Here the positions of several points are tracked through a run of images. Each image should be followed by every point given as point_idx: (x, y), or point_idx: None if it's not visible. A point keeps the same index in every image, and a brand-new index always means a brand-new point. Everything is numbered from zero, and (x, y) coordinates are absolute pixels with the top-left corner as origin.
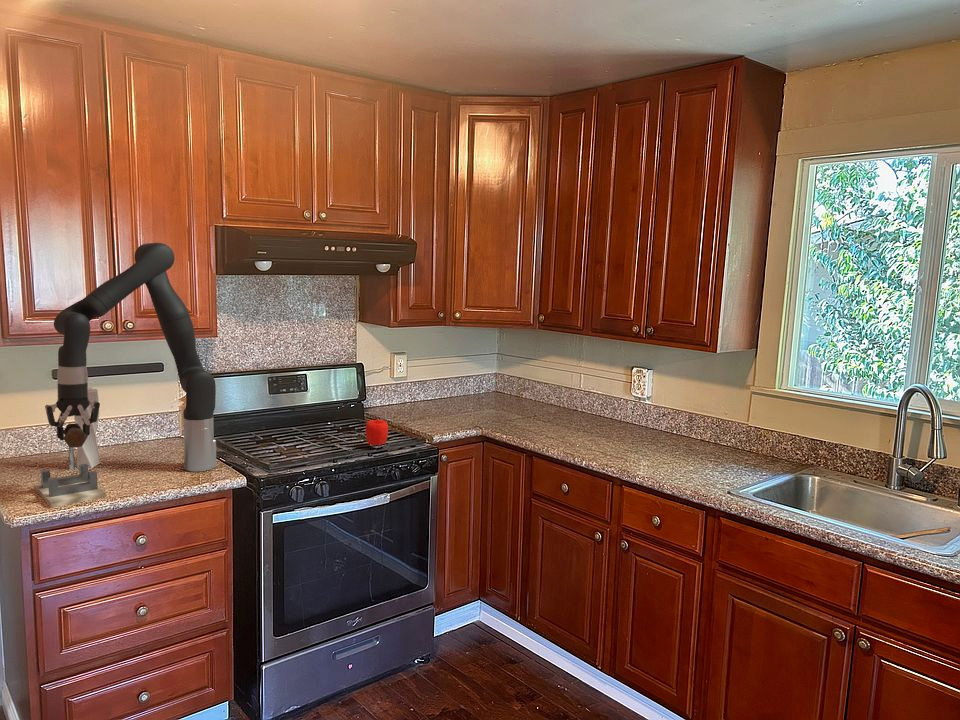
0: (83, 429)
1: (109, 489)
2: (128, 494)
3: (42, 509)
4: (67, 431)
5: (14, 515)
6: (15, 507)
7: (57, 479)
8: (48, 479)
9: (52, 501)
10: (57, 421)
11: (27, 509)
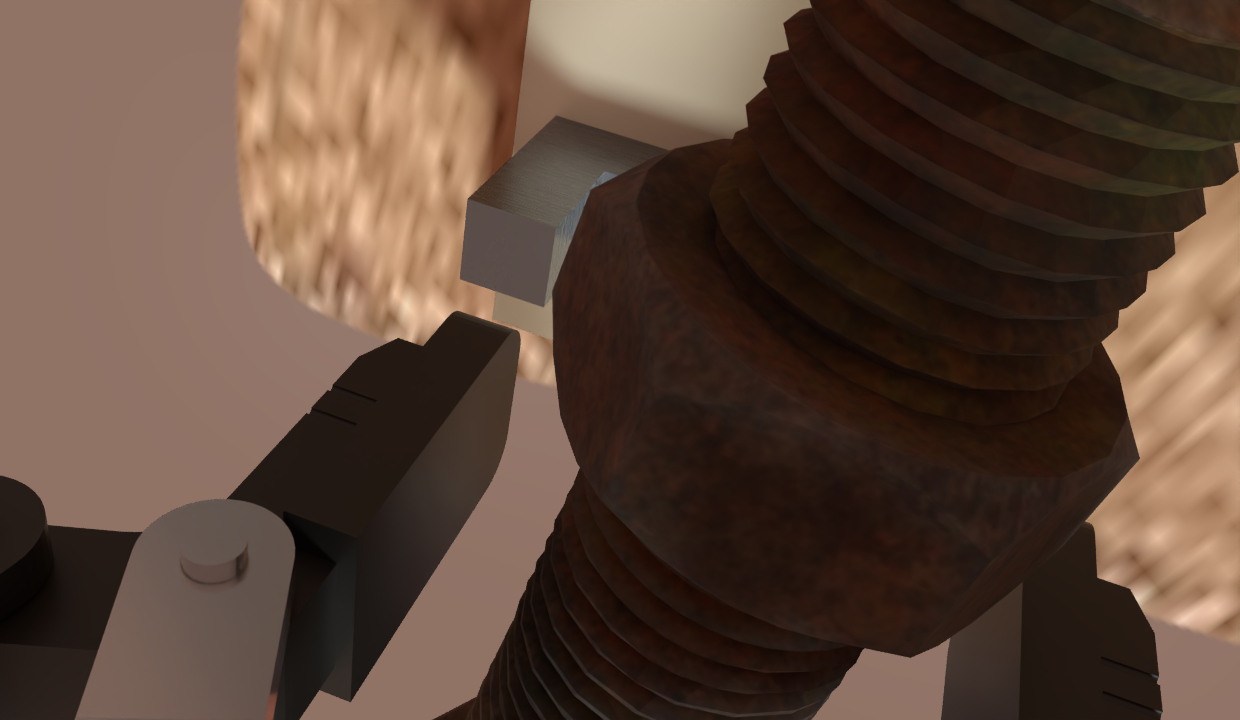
0: (987, 700)
1: (1225, 268)
2: (1199, 548)
3: (452, 275)
4: (571, 503)
5: (255, 229)
6: (293, 38)
7: (542, 299)
8: (472, 207)
9: (513, 312)
10: (113, 652)
11: (360, 176)
